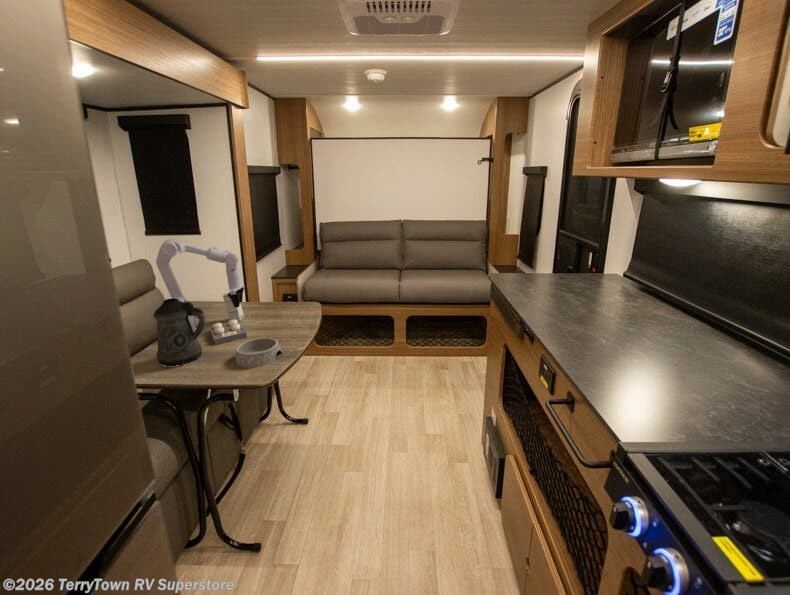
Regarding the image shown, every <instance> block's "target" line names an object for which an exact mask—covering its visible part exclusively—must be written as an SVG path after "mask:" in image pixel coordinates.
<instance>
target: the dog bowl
mask: <svg viewBox="0 0 790 595" xmlns="http://www.w3.org/2000/svg"><path fill="white" fill-rule="evenodd" d="M279 351H280V352H281V353H283V351H282V349H281V347H280V344H279V342H278V340H277V339H275V338H273V337H258V338H253V339H250V340H247V341H244V342H242V343H241V344H239V345H238V346H237V347H236V349H235V359H234V361H235V362H236V363H237V364H238V365H237V364H236V363H235V364H236V365H237V366H239V365H240V366H239V367H241V366H244V367H243V368H257V367H258V368H259V367H263V366H267V365H270V364H272V363H274V362H276V357H277V354H278V352H279Z"/></svg>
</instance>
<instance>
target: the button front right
mask: <svg viewBox="0 0 790 595" xmlns="http://www.w3.org/2000/svg"><path fill="white" fill-rule="evenodd" d="M237 330H241V328H240V324H233V325H231V331H237Z"/></svg>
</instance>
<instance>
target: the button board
mask: <svg viewBox="0 0 790 595" xmlns="http://www.w3.org/2000/svg"><path fill="white" fill-rule="evenodd" d="M237 322H238V324H240V328H241V330H237V331H231V327H229V323H228V322H223V323H222V327H223V328H224V332H225V333H223V334H219V335H215V331H214V330H213V326H212V325H209V331H210V335H211V337H212V340H214V341H213V343H214V345H215V344H217V345H220V343H221V344H226V343H229V342H234V341H238V340H237V339H239V340H243V339H246V338H248V334H247V331H246V329H245V328H244V326H243V324H242V323H241V322H240V321H239V320H238V321H237ZM242 338H243V339H242ZM233 340H234V341H233ZM225 342H226V343H225Z"/></svg>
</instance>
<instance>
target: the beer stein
mask: <svg viewBox="0 0 790 595" xmlns="http://www.w3.org/2000/svg"><path fill="white" fill-rule="evenodd" d="M192 315H193V317H197V318H198V326H197V327H196V331H195V332H193V329H192V326H191V324H190V321H189V318H188V316H192ZM153 317H154V320H156V329H157V351H156V355H155V356H156V359H157V361H158V364H159V363H160V364H162V365H166V366H176V365H183V364H186V363H189V364H191V363H190V362H192V361H194V360H196V361H198V360H199V357H200V356H201V357H202V353H203V352H202V351H203V350H202V345H201V344H200V342H199V340H198V339H197V338H198V337H199V336H200V335H201V334H202V332H203V331H204V329H205V326H206V323H207V320H206V318H207V317H206V314H205V313H204V311H203V310H202V309H200V308H199V307H194V304H193V303H192V302H190V301H188V302H181V301H179V300H178V299H174V298H173V299H172V298H167V299H166V298H165V299H164V300H163V302H162V303H161V305H160V306H158V308H156V309H155V311H154V313H153ZM201 357H200V358H201ZM194 362H195V361H194ZM192 363H193V362H192ZM186 365H187V364H186ZM183 366H184V365H183Z"/></svg>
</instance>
